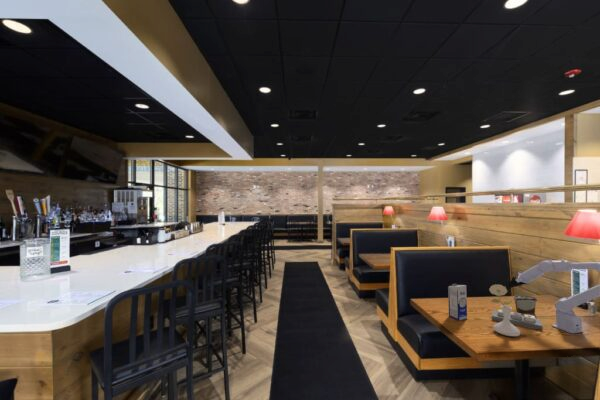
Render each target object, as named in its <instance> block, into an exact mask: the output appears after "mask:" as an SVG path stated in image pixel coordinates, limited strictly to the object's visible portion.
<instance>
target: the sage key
mask: <svg viewBox="0 0 600 400" xmlns="http://www.w3.org/2000/svg"><path fill="white" fill-rule="evenodd" d="M497 311H498V316H504V314H503V310H502V309H498V310H497Z"/></svg>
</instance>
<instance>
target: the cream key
mask: <svg viewBox="0 0 600 400" xmlns="http://www.w3.org/2000/svg"><path fill="white" fill-rule="evenodd" d="M523 316H524V318H525V321H529V322H534V323H535V318H536V316H535V315H533V314H523Z"/></svg>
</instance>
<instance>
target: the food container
mask: <svg viewBox="0 0 600 400" xmlns="http://www.w3.org/2000/svg"><path fill="white" fill-rule="evenodd" d="M513 301H514V303H515V310H516V311H515V312H516V313H521V315H524V314H526V315H535V314H536V303H537V302H538V300H537V298H536V297H534V296H532V295H525V294H515V295H514V296H513Z"/></svg>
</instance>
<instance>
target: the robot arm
mask: <svg viewBox="0 0 600 400" xmlns="http://www.w3.org/2000/svg"><path fill="white" fill-rule="evenodd" d="M572 270H594V271H596V272H598V273H600V261H589V262H588V261H584V262H582V261H581V262H571V261H569V260H565V259H560V260H552V259H549V260H542V261H541V262H539V263H538V264H536V265H534V266H532V267H530V268H528V269H526V270H525V271H523V272H522V273H521V272H517V275H518V276H517V277H516V276H512V277H511V280H510V281H509V282H508V283H507V284H506V286H507V287H506V288H508V289H512V288H516V287H519V286H520V287H521V286H523V285H529V283H531V282H533V281H534V280H536V279H538V278H540V277H542V276H543V275H544V274H546V273H550V272H571V271H572ZM598 298H600V284H597V285H595V286H593V287H590V288H588V289H586V290H583V291H581V292H579V293H577V294H575V295H572V296H568V297H564V296H563V297H561V298H559V300H558V301H555V303H554V307H555V323H556V324H551V326H552V327H554V328H557V329H559V330H561V331H564V332H567V333H569V334H577V333H578V334H579V333H583V332H584V331H583V322H582V318H581V317H580V316H579V315H576V314H575V311H574V310H573V309H575V308H576V307H579V306H581V305H583V304H585V303H587V302H590V301H593V300H595V299H598Z"/></svg>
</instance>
